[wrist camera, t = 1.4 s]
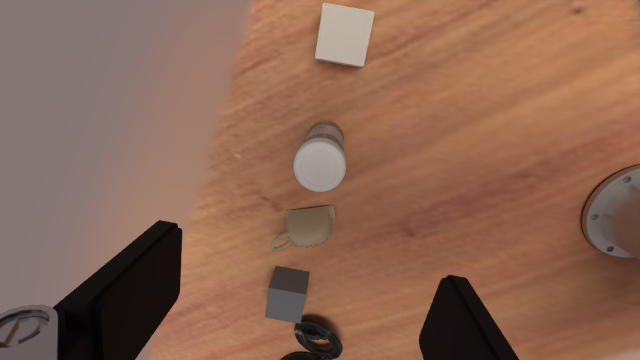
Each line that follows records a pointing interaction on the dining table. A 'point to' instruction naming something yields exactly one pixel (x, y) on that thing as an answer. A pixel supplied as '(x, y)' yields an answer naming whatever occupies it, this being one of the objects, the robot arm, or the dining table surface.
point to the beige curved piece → (307, 227)
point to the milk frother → (315, 332)
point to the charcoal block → (287, 294)
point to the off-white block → (344, 35)
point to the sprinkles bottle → (321, 158)
